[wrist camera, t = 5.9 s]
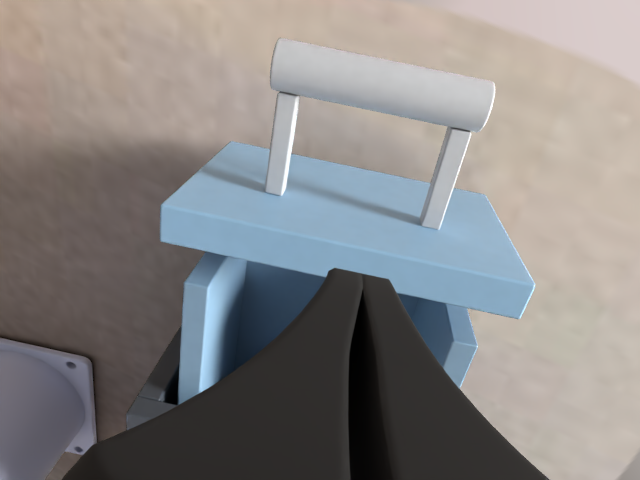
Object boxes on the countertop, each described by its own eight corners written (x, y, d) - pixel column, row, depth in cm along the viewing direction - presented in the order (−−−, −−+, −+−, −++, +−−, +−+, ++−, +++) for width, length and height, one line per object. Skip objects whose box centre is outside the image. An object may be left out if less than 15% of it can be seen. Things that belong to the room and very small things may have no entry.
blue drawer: (241, 17, 17) (162, 24, 11) (529, 77, 16) (616, 118, 10) (209, 371, 24) (152, 491, 18) (404, 414, 24) (412, 550, 18)
